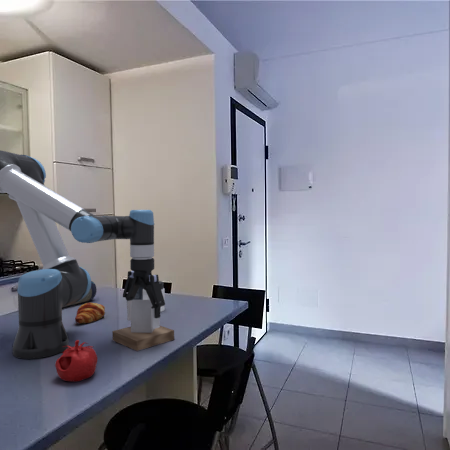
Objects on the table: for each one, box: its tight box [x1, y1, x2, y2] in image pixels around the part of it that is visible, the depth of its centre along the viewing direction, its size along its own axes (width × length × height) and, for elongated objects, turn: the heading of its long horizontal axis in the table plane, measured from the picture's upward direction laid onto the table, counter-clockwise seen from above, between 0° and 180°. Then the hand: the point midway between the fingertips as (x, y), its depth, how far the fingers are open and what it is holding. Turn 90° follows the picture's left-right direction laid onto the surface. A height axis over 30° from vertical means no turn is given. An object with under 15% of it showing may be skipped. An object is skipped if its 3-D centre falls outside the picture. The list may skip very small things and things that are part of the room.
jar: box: [143, 280, 166, 313], centre depth 159 cm, size 9×8×12 cm
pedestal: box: [112, 325, 175, 352], centre depth 122 cm, size 14×14×3 cm
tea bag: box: [130, 300, 154, 333], centre depth 122 cm, size 4×7×10 cm, turn 86°
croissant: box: [74, 302, 106, 324], centre depth 148 cm, size 21×10×8 cm, turn 174°
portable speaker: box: [64, 280, 97, 308], centre depth 171 cm, size 25×10×10 cm, turn 149°
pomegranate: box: [54, 339, 98, 382], centre depth 95 cm, size 10×10×9 cm
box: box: [133, 287, 143, 300], centre depth 176 cm, size 8×6×11 cm
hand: (143, 323), depth 122 cm, fingers open, 13 cm apart
